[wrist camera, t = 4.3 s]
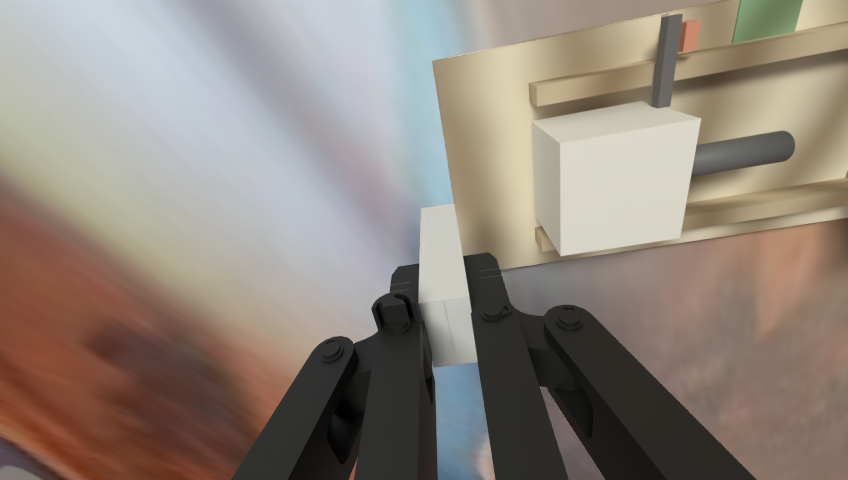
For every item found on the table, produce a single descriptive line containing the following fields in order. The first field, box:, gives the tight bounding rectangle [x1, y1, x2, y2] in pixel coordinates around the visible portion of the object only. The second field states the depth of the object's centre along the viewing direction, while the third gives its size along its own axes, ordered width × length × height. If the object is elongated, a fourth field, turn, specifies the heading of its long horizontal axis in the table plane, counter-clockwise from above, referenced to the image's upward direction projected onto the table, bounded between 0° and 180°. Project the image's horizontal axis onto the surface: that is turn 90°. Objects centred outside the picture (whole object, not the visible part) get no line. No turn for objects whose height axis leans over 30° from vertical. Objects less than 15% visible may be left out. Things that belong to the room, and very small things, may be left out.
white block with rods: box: [532, 14, 795, 256], centre depth 18 cm, size 12×10×5 cm
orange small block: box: [678, 20, 701, 52], centre depth 18 cm, size 1×1×2 cm, turn 10°
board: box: [432, 0, 848, 270], centre depth 19 cm, size 28×14×9 cm, turn 100°
